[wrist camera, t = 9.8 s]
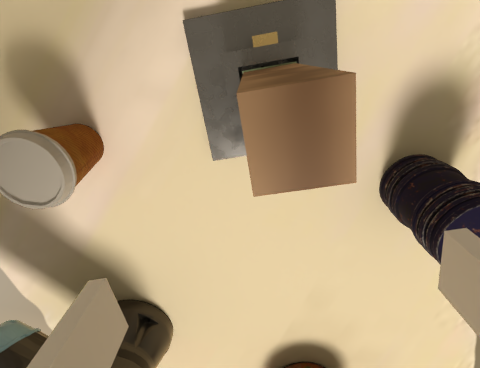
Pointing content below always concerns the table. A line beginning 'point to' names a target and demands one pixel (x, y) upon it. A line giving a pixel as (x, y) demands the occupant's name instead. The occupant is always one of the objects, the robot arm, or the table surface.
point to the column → (298, 127)
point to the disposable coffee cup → (46, 163)
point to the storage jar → (431, 199)
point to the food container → (304, 365)
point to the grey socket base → (253, 56)
